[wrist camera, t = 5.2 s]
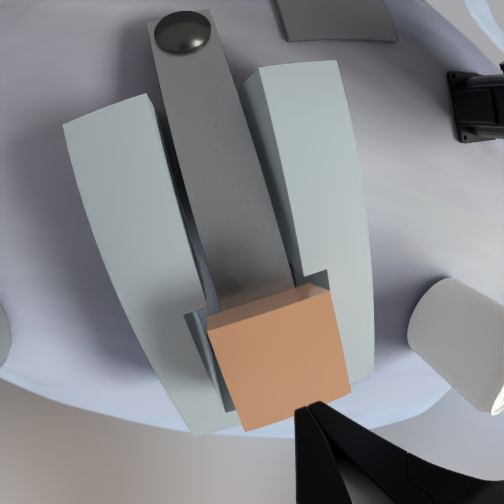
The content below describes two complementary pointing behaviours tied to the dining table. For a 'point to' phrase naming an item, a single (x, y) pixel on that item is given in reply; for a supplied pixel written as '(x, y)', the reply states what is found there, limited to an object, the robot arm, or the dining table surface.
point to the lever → (218, 161)
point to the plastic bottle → (4, 336)
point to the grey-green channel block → (179, 237)
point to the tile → (280, 354)
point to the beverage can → (462, 341)
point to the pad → (336, 20)
